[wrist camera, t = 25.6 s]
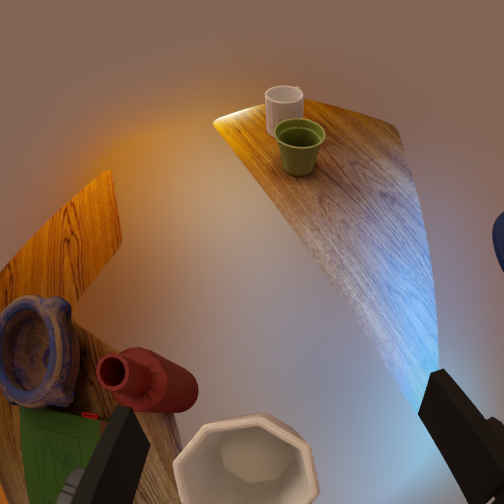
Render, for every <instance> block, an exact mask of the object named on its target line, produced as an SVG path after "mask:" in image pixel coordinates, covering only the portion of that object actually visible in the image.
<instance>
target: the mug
mask: <svg viewBox="0 0 504 504" xmlns="http://www.w3.org/2000/svg"><path fill="white" fill-rule="evenodd" d="M303 103H304V94H303V92H302V91H301V89H300V87H291V86H276V87H273V88H270V89H268V90H267V91H266V93H265V108H266V129H267V132H268V134H269V135H270V136H272V137H274V128H275V127H276V125H277V124H279V123H280V122H282V121H284V120H288V119H293V118H301V119H303ZM274 138H275V137H274Z"/></svg>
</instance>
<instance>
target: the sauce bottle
mask: <svg viewBox="0 0 504 504" xmlns="http://www.w3.org/2000/svg"><path fill="white" fill-rule="evenodd" d="M96 375H97V379H98V382H99V383H100V384H101V385H102V387H103V388H104V389H106V390H110V391H111V394H112V396H113V398H114V399H115V400H116V401H117V402H118V403H119V404H120V405H121V406H127V407H132V409H133V411H134V412H149V413H179V412H184V411H186V410H188V409H189V408H191V407H192V406H193V405H194V403H195V402H196V400H197V397H198V384H197V381H196V379H195V378H194V376H193V375H192V374H191V373H190V372H189V371H187V370H186V369H184V368H183V367H181V366H179V365H177V364H175V363H173V362H171V361H169V360H167V359H165V358H163V357H162V356H160V355H158V354H156V353H154V352H153V351H151V350H148V349H144V348H142V347H134V348H128V349H126V350H124V351H122V352H120V353H119V354H116V353H109V354H106V355H104V356H103V357H102V358H101V359H100V360H99V362H98V363H97V368H96Z"/></svg>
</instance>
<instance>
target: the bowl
mask: <svg viewBox="0 0 504 504" xmlns="http://www.w3.org/2000/svg"><path fill="white" fill-rule="evenodd" d="M79 366H80V349H79V342H78V339H77V335H76V332H75V330H74V328H73V325H72V324H71V306H70V304H69V303H68V302H67V301H66V300H64V299H63V298H61V297H50V298H43V297H40V296H37V295H24V296H21V297H19V298H17V299H15V300H14V301H13V302H12V303H11V304H10V305H9V306H7V307H6V308H5V309H4V310H3V312H2V313H1V315H0V386H1V389H2V393H3V396H4V397H5V398H6V399H7V401H8V402H9V403H10V404H11V405H20V406H22V407H25V408H30V409H38V408H44V407H47V406H50V405H54V406H59V407H68V406H69V405H70V404H71V403H72V402H73V400H74V397H75V385H76V383H75V382H76V379H77V376H78V372H79Z"/></svg>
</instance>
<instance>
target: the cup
mask: <svg viewBox="0 0 504 504" xmlns="http://www.w3.org/2000/svg"><path fill="white" fill-rule="evenodd" d="M173 469H174V474H175V479H176V483H177V488H178V492H179V496H180V500H181V504H311V503H312V502H313V501H314V500H315V499H316V497H317V496H318V495H319V492H320V489H319V484H318V480H317V475H316V470H315V465H314V460H313V456H312V451H311V447H310V445H309V444H308V443H307V442H306V441H305V440H304V439H303V438H302V437H301V436H300V435H299V434H298V433H297V432H296V431H295V430H294V429H293V428H292V427H290V426H288V425H286V424H285V423H283V422H281V421H280V420H278V419H276V418H275V417H273V416H271V415H270V414H268V413H265V412H264V413H259V414H253V415H246V416H240V417H234V418H230V419H226V420H221V421H217V422H213V423H208V424H205V425H203V426H202V427H201V429H200V430H199V431H198V432H197V433H196V435H195V436H194V437H193V438H192V440H191V441H190V442H189V443H188V444H187V446H186V447H185V448H184V449H183V450H182V452H181V453H180V454H179V455H178V456H177V458H176V459H175V460H174V461H173Z"/></svg>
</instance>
